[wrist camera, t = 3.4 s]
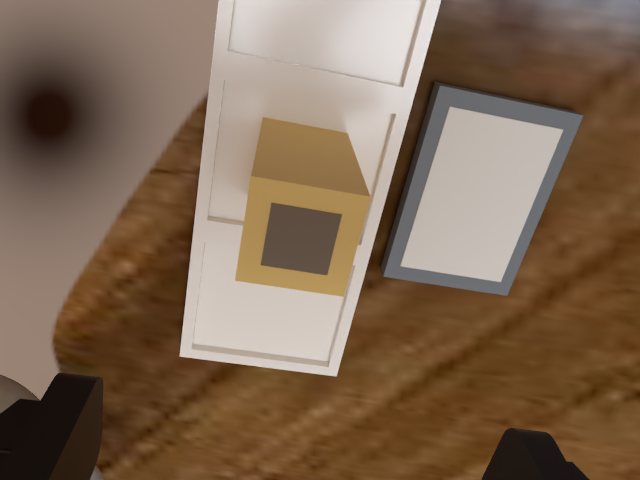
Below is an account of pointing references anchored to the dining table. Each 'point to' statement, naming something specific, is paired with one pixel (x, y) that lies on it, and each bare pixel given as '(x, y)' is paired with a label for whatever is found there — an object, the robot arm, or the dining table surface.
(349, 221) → the tan rectangular block
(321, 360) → the white panel
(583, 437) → the dining table surface
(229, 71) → the dish mid
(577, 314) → the dining table surface
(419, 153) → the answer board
